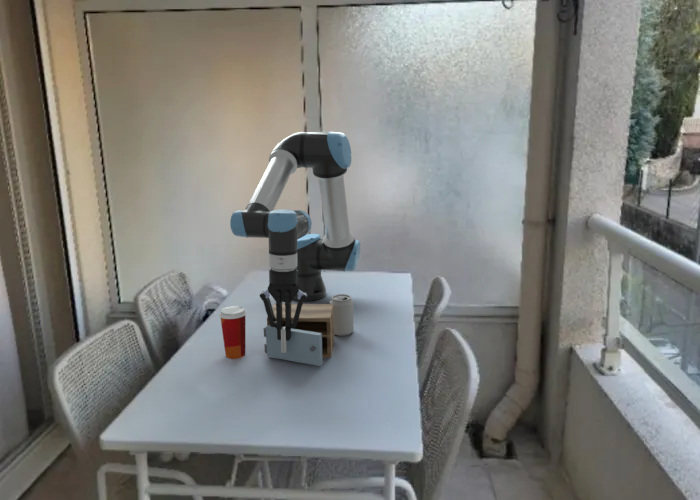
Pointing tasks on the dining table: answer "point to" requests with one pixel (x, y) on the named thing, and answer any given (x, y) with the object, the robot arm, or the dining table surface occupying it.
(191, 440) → the dining table surface
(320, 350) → the door
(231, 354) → the paper cup
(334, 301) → the can
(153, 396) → the dining table surface
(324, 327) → the cabinet
